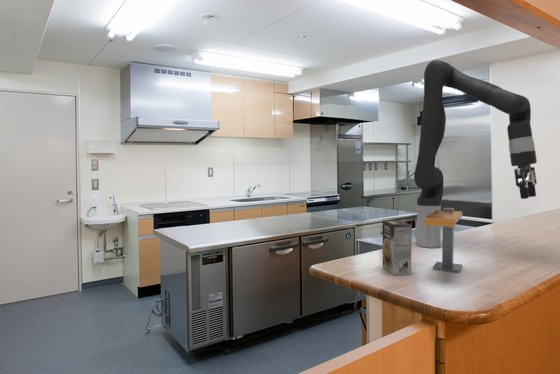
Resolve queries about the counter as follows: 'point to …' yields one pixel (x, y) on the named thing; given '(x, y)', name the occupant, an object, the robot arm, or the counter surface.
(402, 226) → the coffee box
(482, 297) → the counter surface
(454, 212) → the grey orange pedestal
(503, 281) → the counter surface
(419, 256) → the counter surface
